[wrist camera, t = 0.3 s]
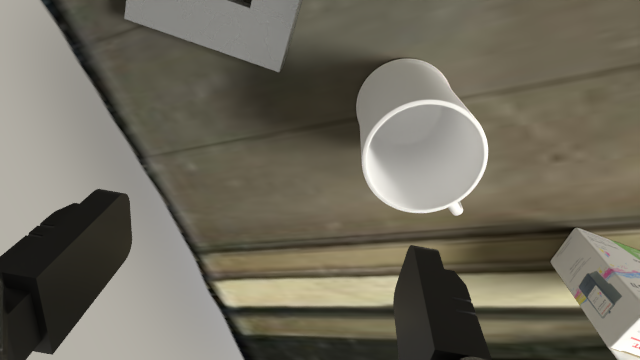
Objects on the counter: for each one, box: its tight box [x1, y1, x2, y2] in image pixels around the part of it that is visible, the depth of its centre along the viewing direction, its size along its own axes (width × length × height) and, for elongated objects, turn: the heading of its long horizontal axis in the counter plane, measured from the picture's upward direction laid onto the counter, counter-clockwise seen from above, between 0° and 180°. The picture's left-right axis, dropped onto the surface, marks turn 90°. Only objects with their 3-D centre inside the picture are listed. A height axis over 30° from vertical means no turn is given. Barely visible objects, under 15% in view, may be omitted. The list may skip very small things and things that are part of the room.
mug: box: [356, 58, 488, 216], centre depth 33 cm, size 12×8×12 cm
